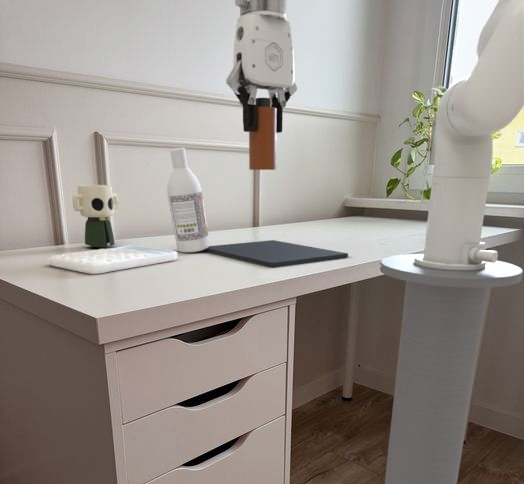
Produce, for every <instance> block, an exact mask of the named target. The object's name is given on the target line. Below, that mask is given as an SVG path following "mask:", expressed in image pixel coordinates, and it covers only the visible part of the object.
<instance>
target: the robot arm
mask: <svg viewBox="0 0 524 484" xmlns="http://www.w3.org/2000/svg"><path fill="white" fill-rule="evenodd" d="M234 4H235V6H236V7H239V17H237V22H236V26H235V32H234V43H233V61H232V62H233V67H232V69H231V71H230V73H229V74H228V76H227V78H226V80H225V82H226V84H227V86H228V87H229V89H231V91H232V92H233V94H234V96H235V97H236V98H237V100H238V101H239V102H238V103H239V105H240V106H241V107H242V124H243V132H245V133H249V132H252V131H257V130H258V107H257V105H255V99H256V98H257V92H258V90H265V91H266V90H267V92H268V98H270V107H275V108H277V134H279V133H282V132H283V116H284V115H283V113H284V110H283V109H284V108H286V106H287V103H288V101H289V100H290V98H291V97H292V96H293V95H294V94H295V93H296V92H297V90H298V87H297V85H296V83H295V56H294V54H295V53H294V40H293V34H292V33H293V32H292V28H291V27H292V26H291V23H290V21H288V20H287V0H234ZM485 22H486V23H485V24H484V25H483V28H482V29H481V31H480V34H479V35H478V39H477V42H476V49H475V50H476V52H475V53H476V59H477V62H476V64H475V66H474V67H473V70H472V71H471V73H469V74H468V75H466V76H464V77H462V78H460V79H457V80H456V81H455V82H454V83H452V84H451V85H450V86H449V87H448V88H447V89H446V90H445V92H444V93H443V94H442V95H441V98H440V100H439V102H438V106H437V110H436V117H435V150H434V151H435V152H434V162H433V172H432V179H431V187H430V196H429V204H428V213H427V220H426V221H427V223H426V229H425V239H424V248H423V254H424V255H418V256H416V257H415V259H414V263H415V264H416V265H419V266H422V267H427V268H432V269H440V270H452V271H473V270H481V269H484V268H485V266H486V262H491V263H495V262H496V261H498V257H499V253H498V251H497V250H487V249H486V242H483V241H481V238H482V230H483V223H484V218H485V211H486V203H487V198H488V190H489V185H490V184H489V183H490V178H491V174H492V173H491V172H492V167H493V165H492V164H493V155H494V154H493V152H494V143H493V134H495V133H498V132H500V131H502V130H503V129H505V128H506V127H507V126H508V125H510V124H511V123H512V122H513V121H514V120H515V118H516V117H517V116H518V115H519V113H520V112H521V111H522V109H523V108H524V0H498V2H497V4H496V5H495V7H494V9H493V10H492V12H491V14H490V15H489V17H488V19H487V21H485Z"/></svg>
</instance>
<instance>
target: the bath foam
mask: <svg viewBox="0 0 524 484" xmlns="http://www.w3.org/2000/svg"><path fill="white" fill-rule="evenodd" d="M169 152H170V157H171V164H172V171H171V174H170V176H169V179H168V182H167V192H166V193H167V200H168V205H169V211H170V217H171V221H172V227H173V233H174V238H175V243H176V248H177V251H179V252H181V253H197V252H200V251H201V250H204V249H206V248H208V247H209V246H211V244H210V243H211V242H210V236H209V230H208V222H207V217H206V210H205V203H204V202H205V201H204V197H203V191H202V187H201V183H200V181H199V180H198V178H197V176H196V175H195V174H194V172H193V171H192V170H191V169H190V168H189V166H188V159H187V153H186V148H185V147H178V148H177V147H176V148H171V149H170V150H169Z"/></svg>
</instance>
